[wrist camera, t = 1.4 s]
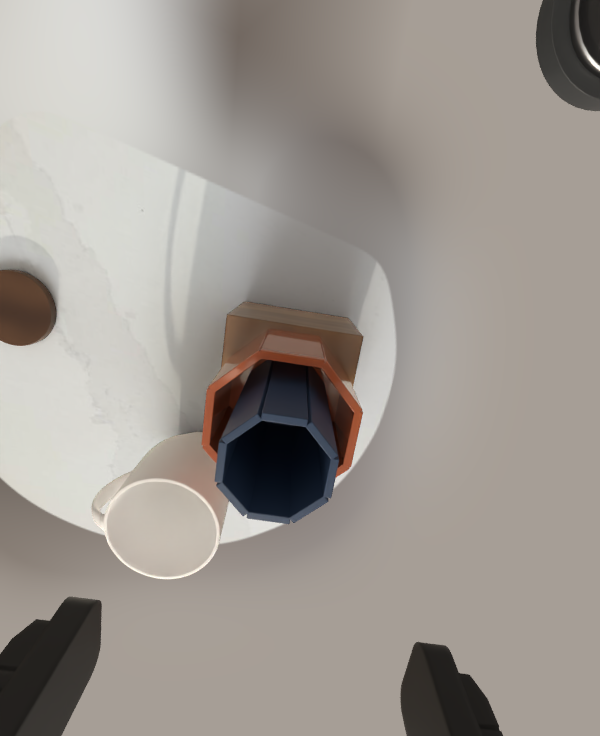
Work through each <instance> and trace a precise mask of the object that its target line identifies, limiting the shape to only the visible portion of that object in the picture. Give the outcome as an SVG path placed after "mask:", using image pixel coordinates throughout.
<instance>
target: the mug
mask: <svg viewBox="0 0 600 736" xmlns="http://www.w3.org/2000/svg"><path fill="white" fill-rule="evenodd" d="M202 433H203V432H193V433H188V434H182V435H177V436H173V437H170V438H168V439H165V440H163V441H162V442H160V443H158V444H157V445H156V446H154V447H153V448H152V449H151V450H150V451H149V452H148V453H147V454H146V455H145V456H144V457H143V458H142V460H141V461H140V462H139V463H138V465H137V466H136V467H135V468H134V470H133V471H131V472H129V473H126V474H124V475H122V476H120V477H118V478H116V479H115V480H113V481H112V482H110V483H109V484H107V485H106V486H105V487H104V488H102V489H101V490H100V491H99V492H98V494H97V495H96V496H95V498H94V500H93V503H92V516H93V519H94V522H95V523H96V525H97V526H98V527H100V528H101V529H102V530H104V531H105V536H106V539H107V542H108V544H109V545H110V548H111V549H112V551H113V552H114V554H115V555H116V556H117V557H118V558H119V559H120V560H121V561H122V562H123V563H124V564H125V565H127V566H128V567H130V568H131V569H133V570H134V571H136V572H138V573H141V574H143V575H146V576H149V577H153V578H159V579H175V578H180V577H185V576H188V575H190V574H193V573H195V572H197V571H198V570H200V569H201V568H203V567H204V566H205V565H206V564H207V563H208V562H209V561H210V560H211V558H212V557H213V556H214V554H215V552H216V550H217V548H218V544H219V541H220V536H221V532H222V528H223V524H224V520H225V516H226V512H227V507H228V503H229V500H228V499H227V498H226V497H225V495H224V494H223V493H222V492H221V491H220V490H219V489H218V488H217V486H216V484H217V482H215V472H216V463H215V462H214V461H213V459H212V458H211V457H210V456H209V455H208V454H207V453H206V451H205V450H204V449H203V448H202V447H203V446H202V445H201V443H202ZM110 499H111V501H110V503H109V504H108V507H107V509H106V512H105V514H102V513H101V512H100V510H101V509H102V507H103V506H104V505H105V504H106V503H107V502H108V501H109V500H110Z"/></svg>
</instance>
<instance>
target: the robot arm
mask: <svg viewBox="0 0 600 736" xmlns="http://www.w3.org/2000/svg"><path fill="white" fill-rule="evenodd" d="M569 27H570V36H571V41H572V44H573V48H574V50H575V53H576V55H577V57H578V58H579V60H580V61H581V63H582V64H583V65H584V67H585V68H586V69H587V70H588V71H590V72H591V73H592V74H594V75H595V76H597V77H599V78H600V0H572V2H571V8H570V17H569ZM101 607H102V606H101V601H100V600H93V599H85V598H77V597H68V598H67V599H65V600H64V602H63V603H62V604H61V606H60V607H59V608H58V610H57V611H56V613H55V614H54V616H53V617H52V619H51V620H50V621H46V620H38V619H36V620H35V621H34V622H33V623H31V624H30V625H29V626H27V627H26V628H25V629H24V630H23V631H21V632H20V633H19V634H17V635H16V636H15V637H14V638H12V639H11V641H10V642H9V643H8V645H7V646H6V647H5V649H4V650H3V651H2V653H1V654H0V736H61V735H62V733H63V731H64V729H65V727H66V725H67V723H68V721H69V719H70V717H71V715H72V713H73V711H74V709H75V707H76V705H77V703H78V701H79V699H80V697H81V695H82V693H83V691H84V689H85V687H86V685H87V683H88V681H89V679H90V677H91V675H92V673H93V671H94V668H95V665H96V662H97V659H98V655H99V651H100V643H101V642H100V641H101ZM401 710H402V715H403V721H404V725H405V730H406V734H407V736H503V735H502V732H501V731H499V725H498V723H497V720H496V718H495V716H494V713H493V711H492V708H491V706H490V704H489V701H488V699H487V698H486V696H485V695H484V694H483V692H482V691H481V690H480V688H479V687H478V685H477V684H476V683H475V681H474V680H473V679H472V678H471V677H470V675H468V674H460V673H458V670H457V667H456V665H455V662H454V659H453V657H452V654H451V652H450V650H449V649H448V647H446V646H444V645H436V644H428V643H420V642H416V643H415V645H414V647H413V650H412V653H411V656H410V659H409V662H408V666H407V669H406V672H405V675H404V678H403V682H402V685H401Z"/></svg>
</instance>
